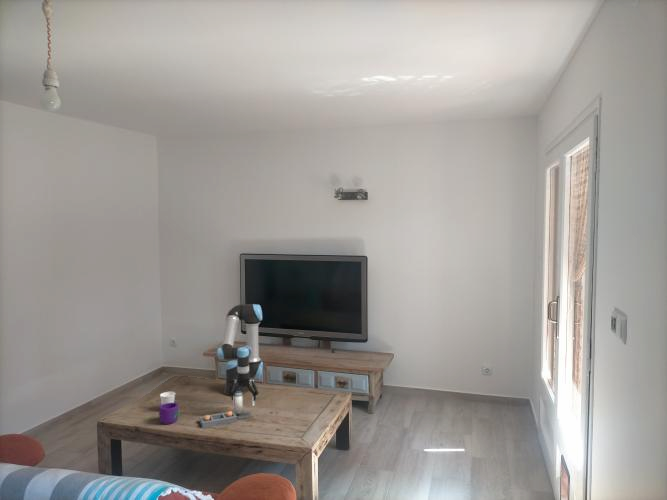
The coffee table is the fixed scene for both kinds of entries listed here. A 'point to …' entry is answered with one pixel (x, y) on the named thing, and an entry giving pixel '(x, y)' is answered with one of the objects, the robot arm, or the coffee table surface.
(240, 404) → the cylinder
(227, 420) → the tray
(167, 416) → the mug
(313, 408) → the coffee table surface
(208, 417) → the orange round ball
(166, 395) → the cup
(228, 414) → the orange oval ball
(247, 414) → the mat
